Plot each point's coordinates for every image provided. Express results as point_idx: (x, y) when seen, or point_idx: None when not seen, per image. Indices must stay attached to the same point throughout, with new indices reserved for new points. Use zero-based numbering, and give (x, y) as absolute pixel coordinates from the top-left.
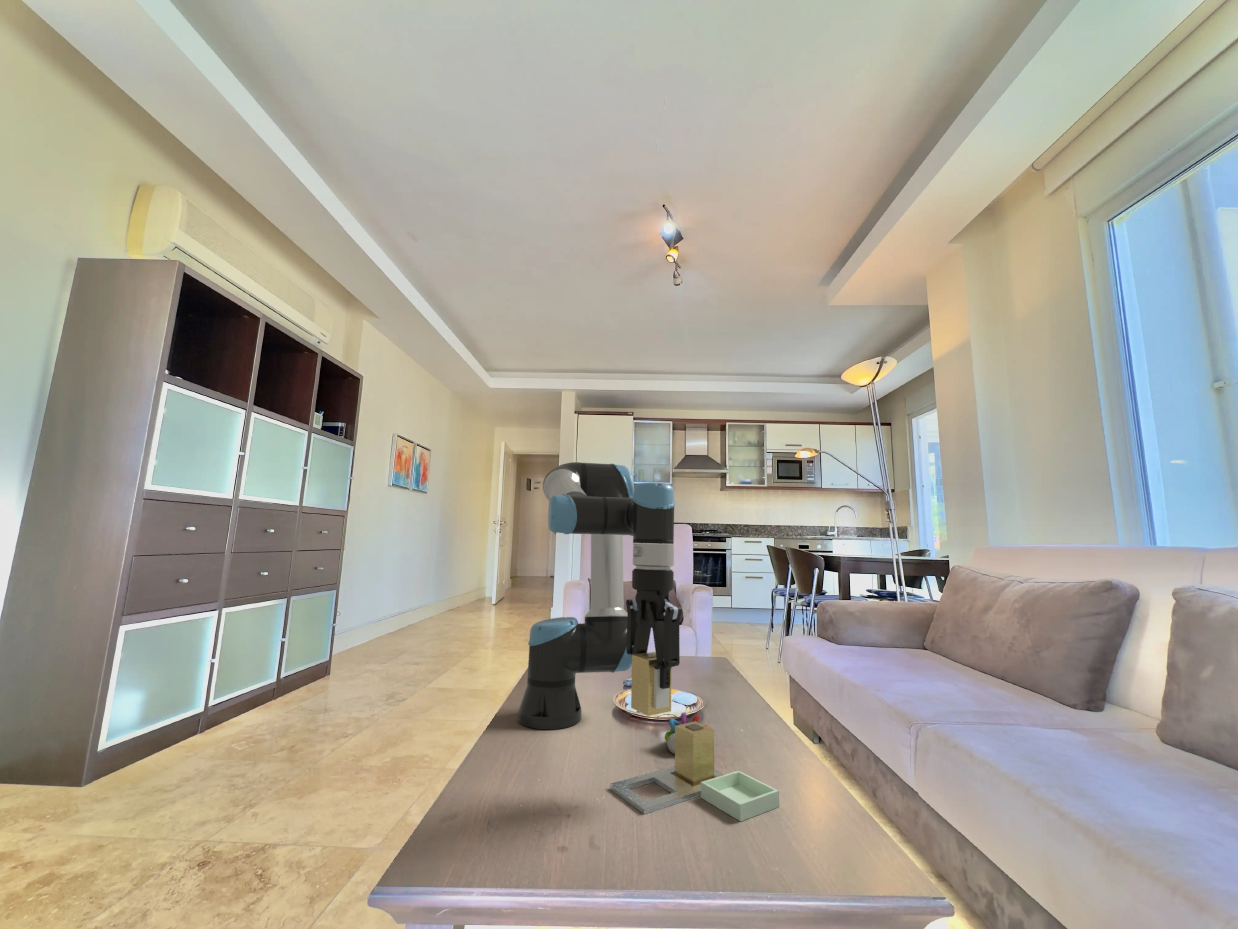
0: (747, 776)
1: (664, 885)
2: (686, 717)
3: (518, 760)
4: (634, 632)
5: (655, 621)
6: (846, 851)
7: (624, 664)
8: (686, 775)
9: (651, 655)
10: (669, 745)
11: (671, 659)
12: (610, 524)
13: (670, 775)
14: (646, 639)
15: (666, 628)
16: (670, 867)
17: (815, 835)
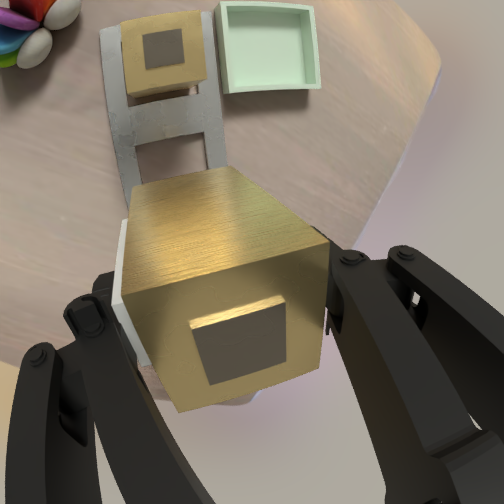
0: (249, 5)
1: (350, 243)
2: (5, 10)
3: (22, 330)
4: (82, 494)
5: (440, 501)
6: (395, 43)
7: None
8: (170, 90)
9: (256, 352)
10: (32, 66)
11: (412, 297)
12: None
13: (140, 111)
14: (165, 434)
15: (495, 418)
16: (335, 226)
17: (366, 38)
